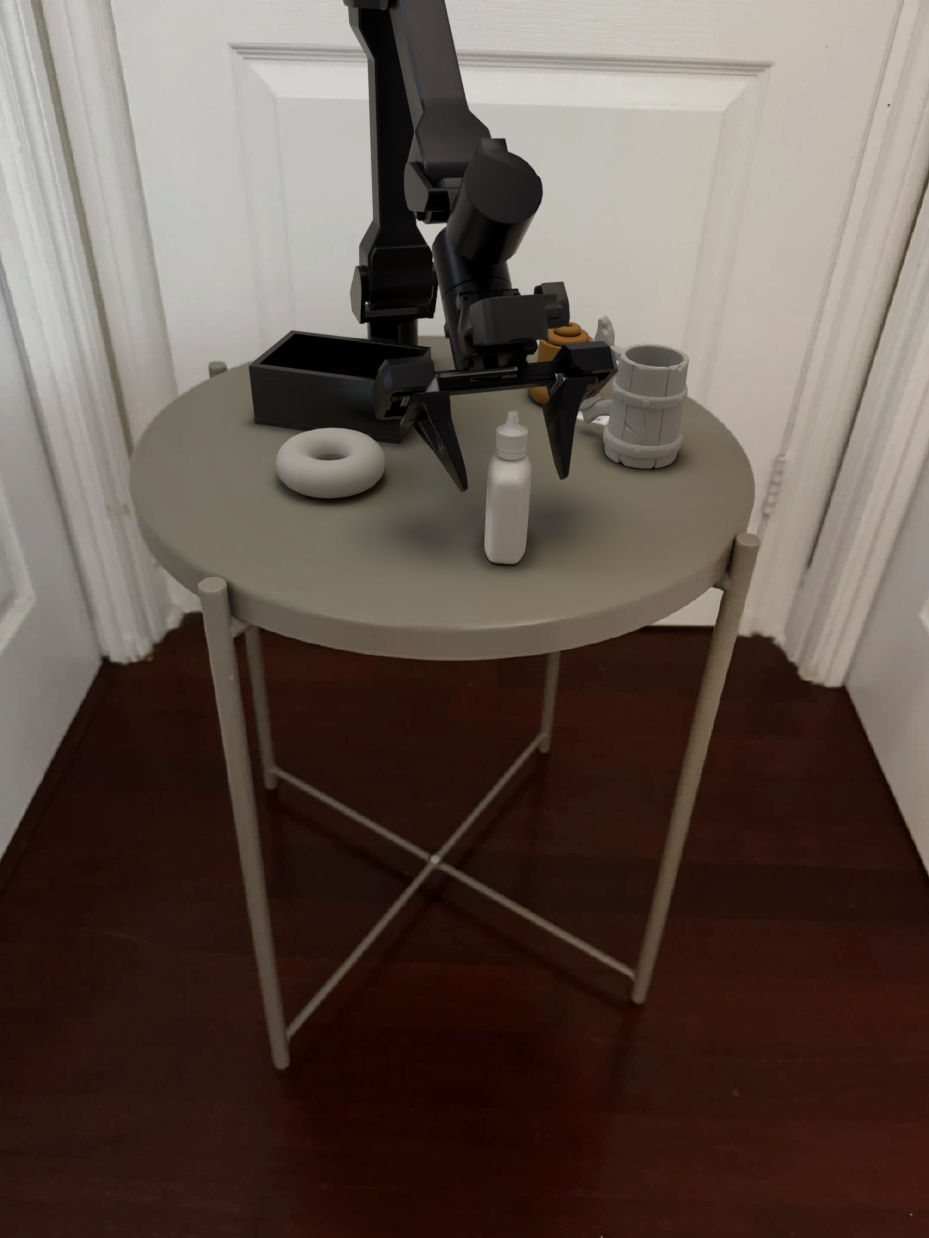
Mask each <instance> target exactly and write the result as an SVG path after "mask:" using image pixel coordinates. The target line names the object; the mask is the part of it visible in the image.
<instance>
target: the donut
mask: <svg viewBox="0 0 929 1238" xmlns="http://www.w3.org/2000/svg"><path fill="white" fill-rule="evenodd" d="M274 463H275V469H276V471H277V476H278V478H279V479H280V480H281V482H283V484H284V485H286V487H288V488H289V489H290V490H292V491H294V492H296V493H298V494H300V495H303V496H308V497H312V498H316V499H339V498H348V497H351V496H354V495H358V494H361V493H363V492H365V491H367V490H369V489H371V488H372V487H373V486H375V485H376V483H378V481H380V480H381V478H382V476H383V475H384V472H385V468H386V463H387V459H386V455H385V453H384V450H383V448H382V446H381V444H380V443H378V442H377V440H373V439H372V438H371V437H369V436H368V435H366V434H363V433H361V432H358V431H354V430H349V429H344V428H322V429H315V430H311V431H308V430H306V431H303V432H301V433H298V434H296V435H294V436H291V437H290V438H289V439H288V440H287V441H285V442H284V443H283V444H282V445H281V446H280V449H279V450H278V452H277V455H276V456H275V462H274Z"/></svg>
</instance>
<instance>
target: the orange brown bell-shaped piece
mask: <svg viewBox="0 0 929 1238" xmlns="http://www.w3.org/2000/svg"><path fill="white" fill-rule="evenodd" d="M548 331H549V339H548V340H538V342H539V343H538V349H537V358H536V362H544V361H552V360H553V358H554V357H555V355H556V354H557V353H558V351H559V350H560V349H561V347H562V346H563V345H564V344H570V343H582V342H593V339H594V338H592V337H591V336H590V335H589V333H588V332H587V331H586V330H585V329H584V328H582V327H581V325H580V324H579V323H576V322H574V321H573V322H572V321H569V324H568V325H567V326H564V327H561V328H556V329H548ZM527 390H528V393H529V396H530V397H531V398H532V399H533V400H534V401H535V402H536V403H537V404H539V405H540V406H541V405H542V406H544V405H545V404H546V403H547V401H548V400H549V396H548V392H547V387H546V386H545V387H535V388H527Z"/></svg>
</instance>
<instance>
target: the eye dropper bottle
mask: <svg viewBox="0 0 929 1238" xmlns="http://www.w3.org/2000/svg"><path fill="white" fill-rule="evenodd" d="M495 429H496V430H495V445H494V447H495V448H494V449H495V450H494V453H493V454H492V456H491V457H490V459H489V461H488V466H487V480H486V499H485V521H484V522H485V523H484V525H485V526H484V552H485V555H486V557H487V559H488V560H489V561H490V562H492V563H494V564H502V565H503V564H504V565H515V564H517V563H519V562H520V561H521V560H522V559H523V556H524V554H525V552H526V549H527V538H528V527H529V526H528V525H529V512H530V500H531V484H532V483H531V482H532V471H533V469H532V462H531V459H530V457H529V456H528V454H527V450H528V439H529V429H528V428H527V427H526V426H525V425H523V424H520V419H519V412H518V411H517V410H509V411H508V413H507V416H506V421H505V423H502V424H500V425H498V426H497V427H496V428H495Z"/></svg>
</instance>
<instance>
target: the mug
mask: <svg viewBox="0 0 929 1238" xmlns="http://www.w3.org/2000/svg"><path fill="white" fill-rule="evenodd" d="M615 336H616V335H615V330H614V327H613V323H612V321H611V319H610V318H609V317H608V316H607V315H603V316H601V317H599V318H598V320H597V328H596V332H595V335H594V338H592V339H593V341H604V342H605V343H606V344H608V345H609V346H610V347H611V349H612V350H613V351H614V353H615V358H616V362H618V363H617V367H618V372H617V373H616V374H615V377H614V378H613V379H612V383H611V394H612V398H610V399H609V398H608V399H603V397H602V395H601V394H600V392H599V393H598V394H597V395H596V396H594V397H591V398H589V399H585V400H584V401H583V402H582V403H581V405H580V408H579V411H581V415H582V421H583V422H584V423H586V424H591V423H593V422H594V421H595V420H597V419H598V418H599V417H608V422H607V423H606V424H605V426H604V428H603V431H602V441H603V443H604V447H603V450H604V453H605V455H606V456H607V457H608V458H609V459H610V460H611V461H613V462H615V463H617V464H618V463H622V464H623V465H624V466H625V467H630V468H634V469H644V470H647V469H652V468H654V469H660V468H665V467H666V466H669V465H671V464H672V463H673V462H674V461H675V460H676V458H677V453H678V452H679V450H680V449H681V447H682V444H683V434H682V432H681V426H682V425H681V424H682V417H683V416H682V415H683V411H684V410H683V409H684V403H685V402H686V400H687V397H688V391H689V387H688V385H687V378H688V370H689V363H690V358H689V357H688V355H687V354H686V353H685V352H684V351H682V350H680V349H679V348H673V347H672V346H668V345H663V344H657V343H656V344H655V343H642V344H640V343H636V344H632V345H629V346H626V347H621V346H618V345H615V341H616V339H615V338H616V337H615Z"/></svg>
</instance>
